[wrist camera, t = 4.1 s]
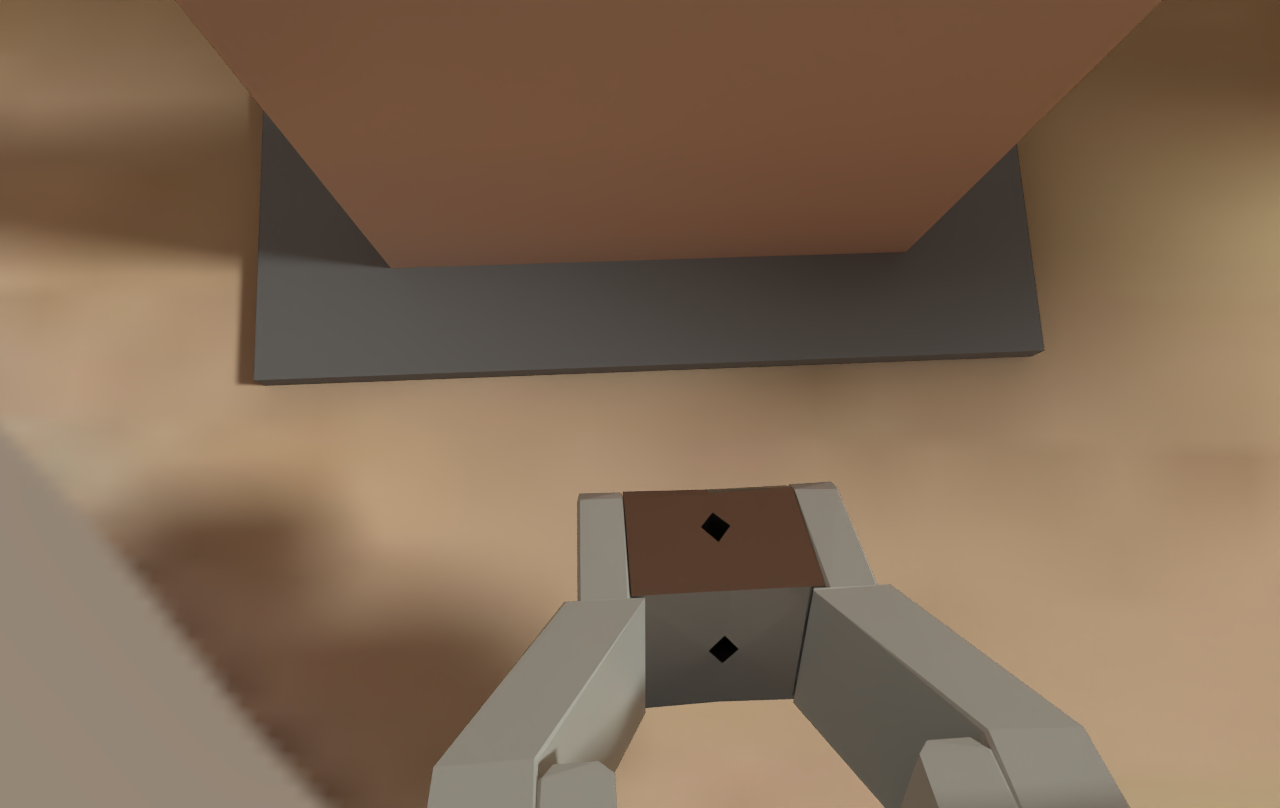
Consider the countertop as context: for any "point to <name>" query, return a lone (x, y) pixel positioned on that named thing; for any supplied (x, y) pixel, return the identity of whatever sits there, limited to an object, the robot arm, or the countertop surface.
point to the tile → (654, 116)
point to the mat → (629, 299)
